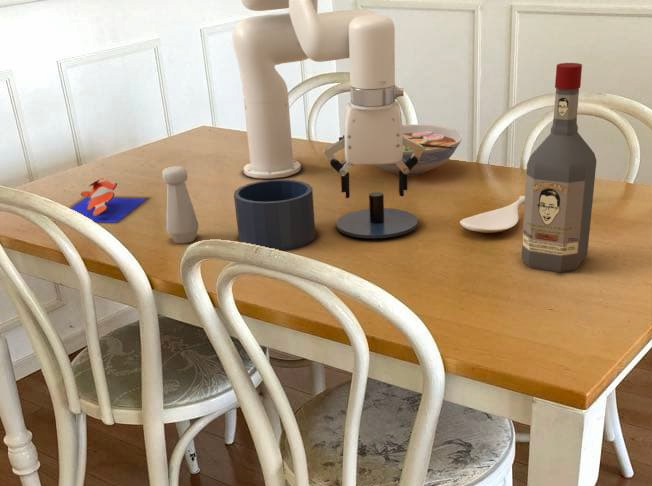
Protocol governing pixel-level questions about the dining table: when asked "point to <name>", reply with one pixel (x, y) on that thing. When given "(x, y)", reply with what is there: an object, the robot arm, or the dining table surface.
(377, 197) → the lid
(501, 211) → the spoon
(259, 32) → the robot arm
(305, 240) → the pot
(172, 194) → the salt shaker
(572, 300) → the dining table surface
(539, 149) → the liquor
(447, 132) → the ramen bowl
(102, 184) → the fish
